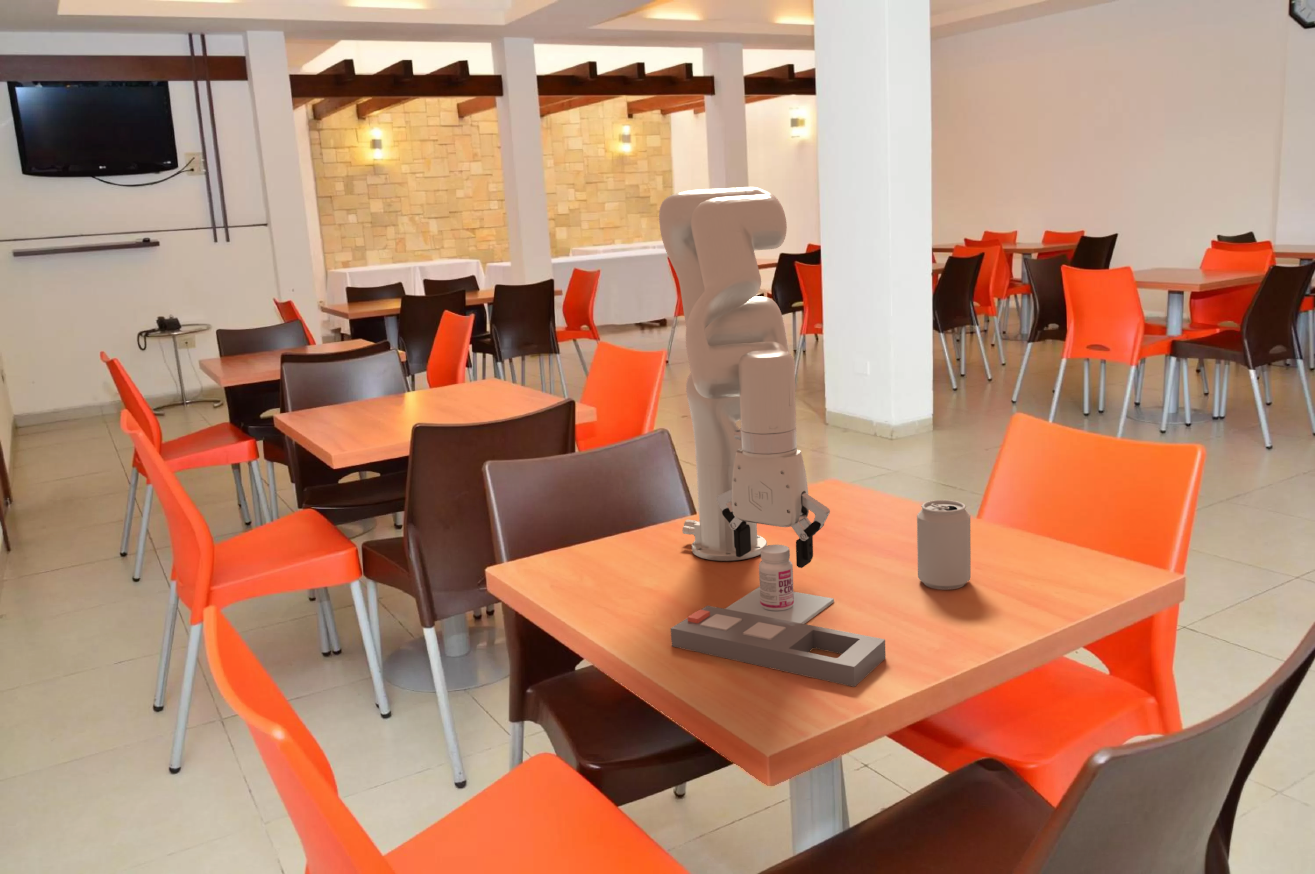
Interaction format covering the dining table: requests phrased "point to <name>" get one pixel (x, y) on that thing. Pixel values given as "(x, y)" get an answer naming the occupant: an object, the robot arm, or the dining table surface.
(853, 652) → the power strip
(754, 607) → the mat
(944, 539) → the can
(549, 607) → the dining table surface
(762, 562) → the pill bottle
